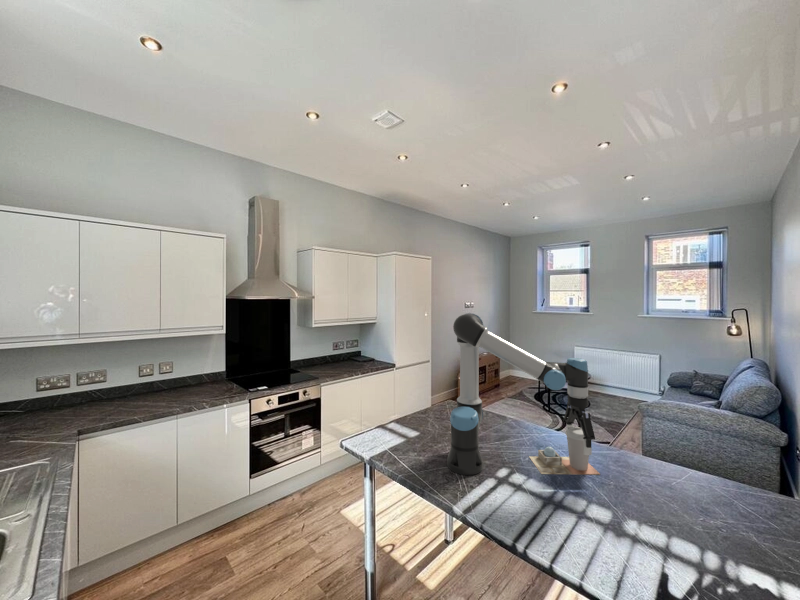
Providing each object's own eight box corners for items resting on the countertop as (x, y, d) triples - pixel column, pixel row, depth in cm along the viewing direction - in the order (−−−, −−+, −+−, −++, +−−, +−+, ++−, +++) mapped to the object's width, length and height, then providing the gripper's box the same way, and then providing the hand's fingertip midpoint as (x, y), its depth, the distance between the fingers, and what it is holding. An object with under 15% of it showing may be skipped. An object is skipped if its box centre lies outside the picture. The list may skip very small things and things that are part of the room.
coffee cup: (585, 461, 135) (584, 426, 135) (596, 473, 125) (596, 435, 125) (562, 460, 136) (561, 425, 136) (571, 472, 126) (571, 435, 126)
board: (541, 475, 126) (541, 465, 126) (528, 458, 140) (528, 449, 140) (600, 476, 125) (600, 466, 125) (581, 458, 139) (581, 449, 139)
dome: (546, 460, 133) (546, 449, 133) (542, 455, 138) (542, 444, 138) (557, 460, 133) (557, 449, 133) (552, 455, 138) (552, 444, 138)
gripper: (605, 405, 118) (606, 462, 118) (572, 387, 143) (572, 434, 143) (584, 405, 118) (585, 461, 118) (555, 387, 143) (555, 433, 143)
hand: (578, 446), depth 130 cm, fingers open, 13 cm apart
